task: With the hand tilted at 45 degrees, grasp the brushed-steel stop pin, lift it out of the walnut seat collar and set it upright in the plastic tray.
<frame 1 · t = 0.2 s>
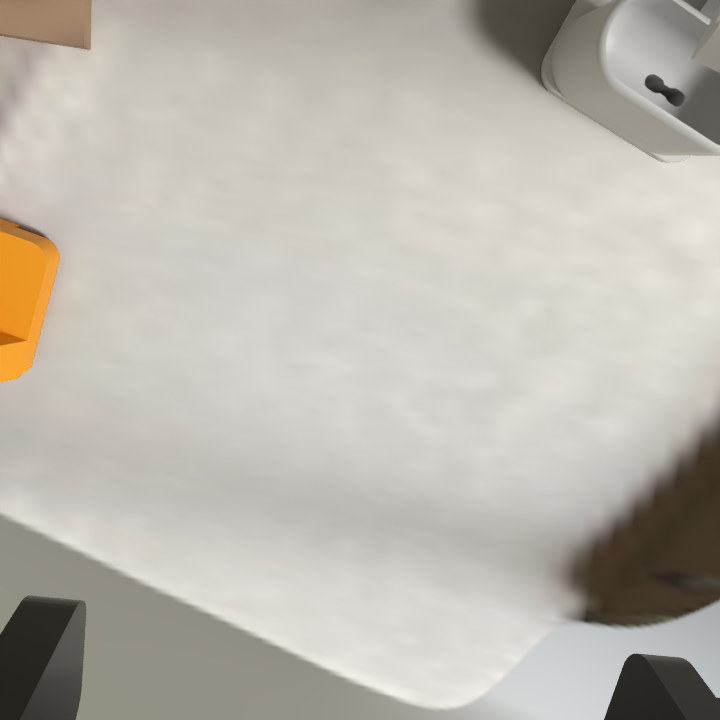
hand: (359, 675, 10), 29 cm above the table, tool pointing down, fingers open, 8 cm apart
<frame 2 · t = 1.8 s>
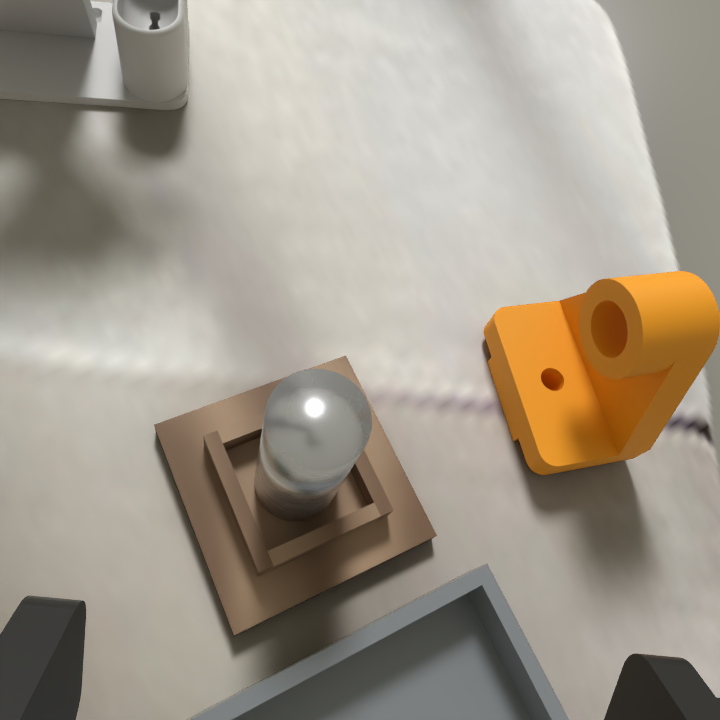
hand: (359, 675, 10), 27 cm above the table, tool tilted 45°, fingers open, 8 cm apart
phone holder: (72, 56, 49), on the table
stop pin: (295, 480, 37), point 1 cm above the table, touching stop seat
bracket: (547, 394, 44), on the table
stop seat: (294, 485, 38), on the table
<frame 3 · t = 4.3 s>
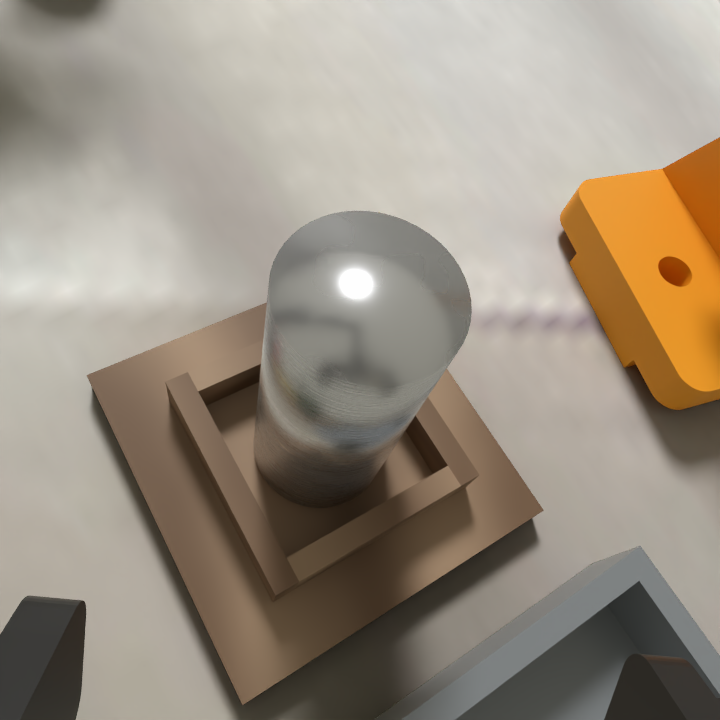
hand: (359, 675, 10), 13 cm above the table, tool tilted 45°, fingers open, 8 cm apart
stop pin: (318, 443, 23), point 1 cm above the table, touching stop seat
bracket: (656, 302, 31), on the table
stop seat: (315, 452, 24), on the table
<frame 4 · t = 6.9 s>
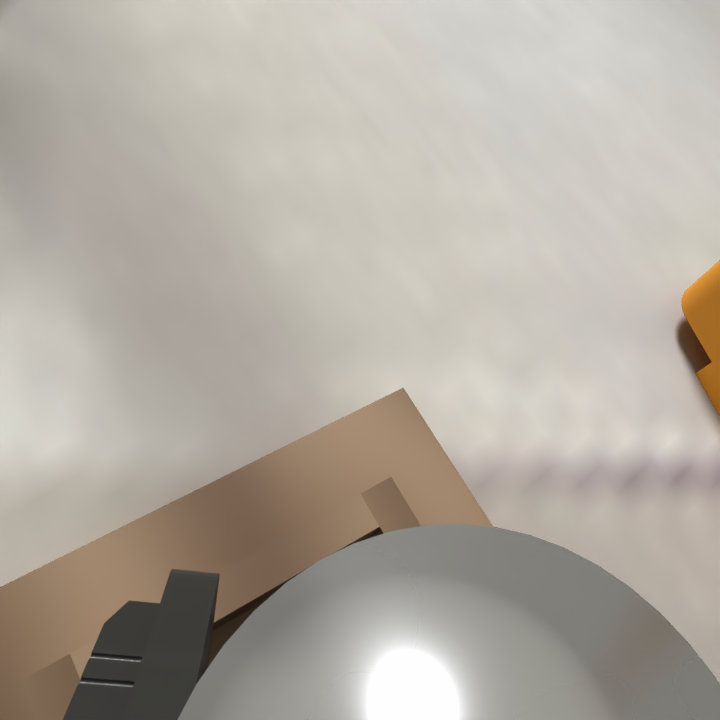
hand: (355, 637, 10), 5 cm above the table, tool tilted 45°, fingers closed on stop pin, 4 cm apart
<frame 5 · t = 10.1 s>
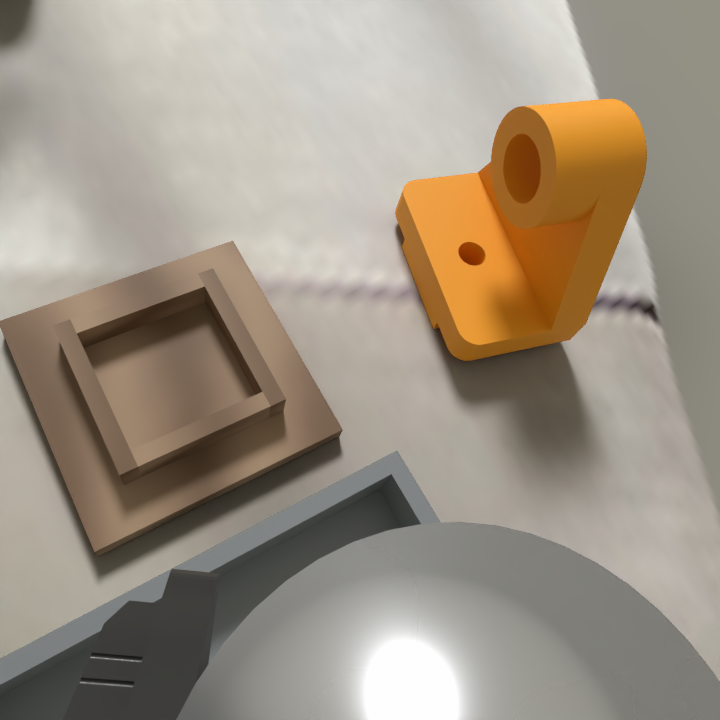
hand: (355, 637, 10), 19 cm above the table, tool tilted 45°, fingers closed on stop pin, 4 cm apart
bracket: (472, 279, 39), on the table
stop seat: (173, 384, 32), on the table
when the fingers open (6 cm above the table, at t = 13.1 s): stop pin drops 1 cm, resting on tray.
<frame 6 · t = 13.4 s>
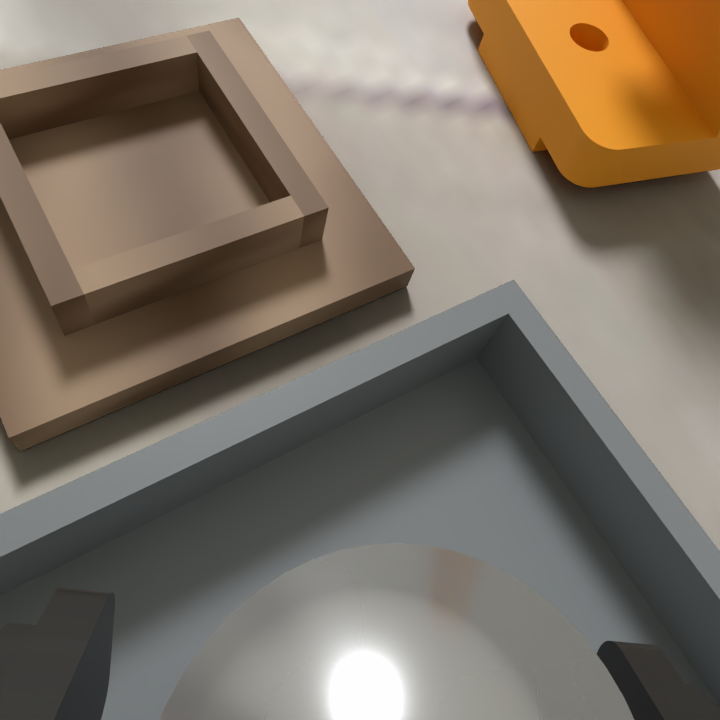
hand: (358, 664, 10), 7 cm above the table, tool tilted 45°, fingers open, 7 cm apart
bracket: (577, 96, 27), on the table
stop seat: (150, 206, 21), on the table
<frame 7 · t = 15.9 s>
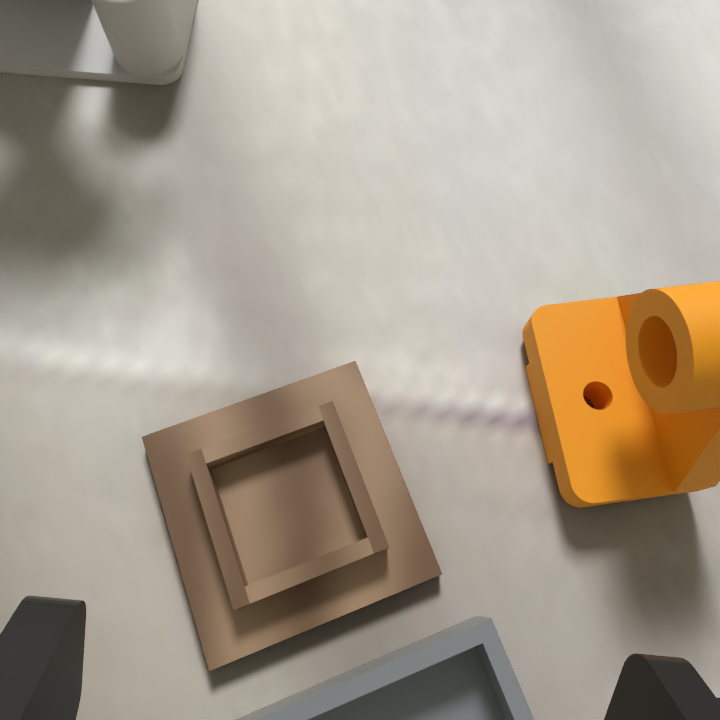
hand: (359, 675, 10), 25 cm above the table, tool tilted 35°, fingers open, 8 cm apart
phone holder: (71, 22, 45), on the table
bracket: (597, 407, 37), on the table
stop seat: (289, 506, 35), on the table
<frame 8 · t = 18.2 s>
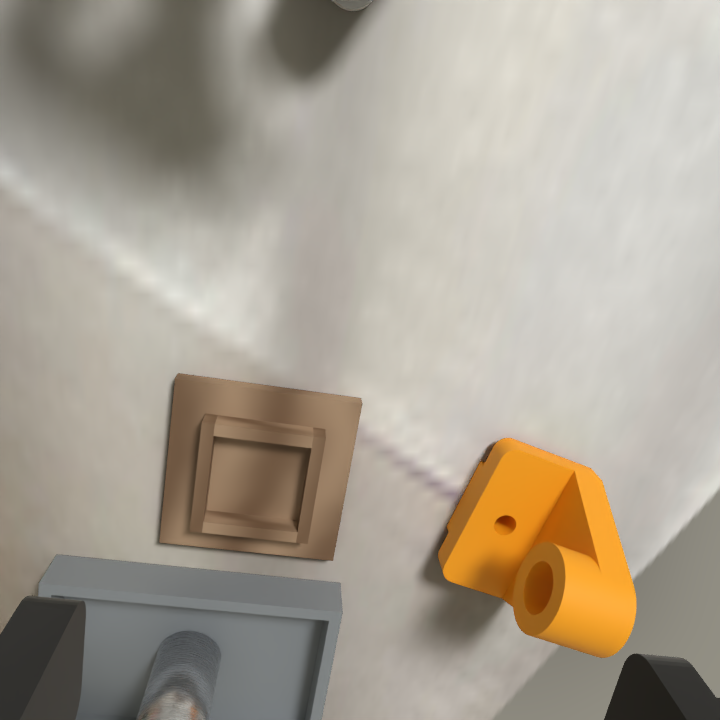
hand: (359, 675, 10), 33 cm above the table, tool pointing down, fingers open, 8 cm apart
stop pin: (189, 656, 48), point 1 cm above the table, touching tray
bracket: (506, 508, 48), on the table
tray: (192, 648, 49), on the table
stop seat: (259, 467, 45), on the table
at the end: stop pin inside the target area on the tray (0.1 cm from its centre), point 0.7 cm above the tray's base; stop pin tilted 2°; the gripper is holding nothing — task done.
